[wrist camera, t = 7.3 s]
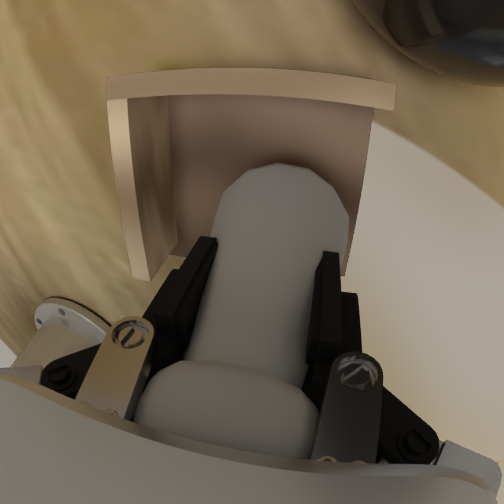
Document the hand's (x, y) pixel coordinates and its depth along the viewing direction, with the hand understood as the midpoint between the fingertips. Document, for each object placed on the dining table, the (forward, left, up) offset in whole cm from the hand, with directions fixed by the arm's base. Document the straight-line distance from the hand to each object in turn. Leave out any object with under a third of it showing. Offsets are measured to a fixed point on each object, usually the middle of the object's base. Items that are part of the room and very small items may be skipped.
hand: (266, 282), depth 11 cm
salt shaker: (0, 0, -6) cm, 6 cm away
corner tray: (+1, +2, -8) cm, 8 cm away
